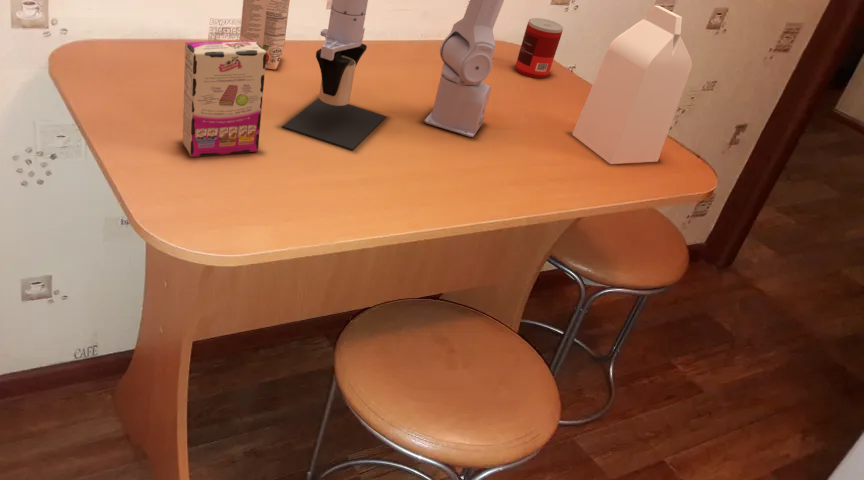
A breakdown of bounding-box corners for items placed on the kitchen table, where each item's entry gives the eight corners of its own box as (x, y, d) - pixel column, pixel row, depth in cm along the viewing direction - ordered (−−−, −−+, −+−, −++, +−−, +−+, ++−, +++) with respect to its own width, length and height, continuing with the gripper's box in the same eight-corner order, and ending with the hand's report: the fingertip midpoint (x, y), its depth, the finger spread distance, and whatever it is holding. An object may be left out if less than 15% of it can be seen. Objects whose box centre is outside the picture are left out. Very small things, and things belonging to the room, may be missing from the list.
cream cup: (353, 99, 139) (360, 60, 135) (342, 108, 135) (349, 69, 131) (326, 90, 140) (332, 52, 136) (314, 99, 136) (319, 60, 132)
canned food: (553, 73, 181) (568, 25, 175) (540, 81, 175) (556, 32, 169) (522, 62, 184) (536, 15, 177) (509, 70, 178) (523, 21, 171)
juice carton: (280, 72, 154) (291, -29, 143) (236, 65, 154) (244, -37, 143) (283, 59, 160) (295, -39, 149) (241, 51, 160) (249, -47, 149)
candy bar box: (247, 138, 129) (256, 39, 119) (258, 152, 125) (269, 51, 116) (179, 143, 124) (184, 39, 114) (189, 158, 120) (195, 53, 111)
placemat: (385, 117, 145) (386, 116, 145) (352, 150, 131) (352, 149, 131) (321, 97, 148) (321, 95, 147) (282, 127, 134) (282, 126, 134)
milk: (571, 134, 153) (619, -2, 138) (617, 133, 158) (669, 1, 143) (610, 164, 144) (665, 22, 130) (657, 161, 149) (716, 24, 134)
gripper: (342, -6, 135) (330, 70, 143) (308, 13, 124) (297, 94, 131) (380, 5, 134) (366, 81, 141) (349, 25, 122) (336, 107, 130)
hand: (335, 89), depth 136 cm, fingers closed on cream cup, 5 cm apart
